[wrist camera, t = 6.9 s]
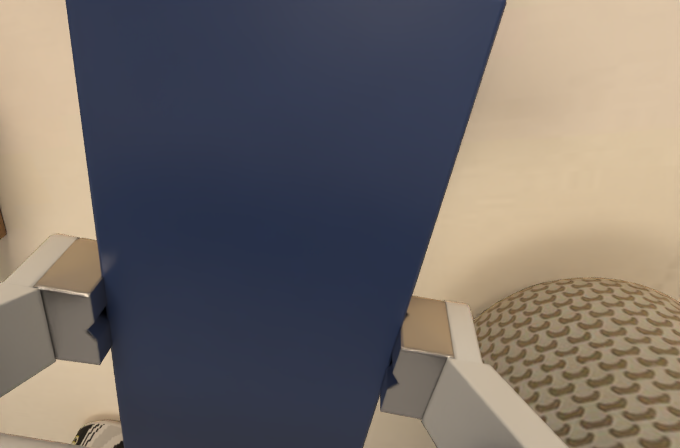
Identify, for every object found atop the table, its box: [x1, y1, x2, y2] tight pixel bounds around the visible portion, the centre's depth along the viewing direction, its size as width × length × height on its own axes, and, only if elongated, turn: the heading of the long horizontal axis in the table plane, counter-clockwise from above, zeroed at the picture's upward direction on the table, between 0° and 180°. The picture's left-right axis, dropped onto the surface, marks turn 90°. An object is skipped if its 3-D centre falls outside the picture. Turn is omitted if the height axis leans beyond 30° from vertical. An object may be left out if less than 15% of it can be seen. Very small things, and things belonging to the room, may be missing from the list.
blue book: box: [66, 0, 506, 448], centre depth 10 cm, size 13×6×2 cm, turn 171°
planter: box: [473, 278, 680, 448], centre depth 26 cm, size 17×17×16 cm
